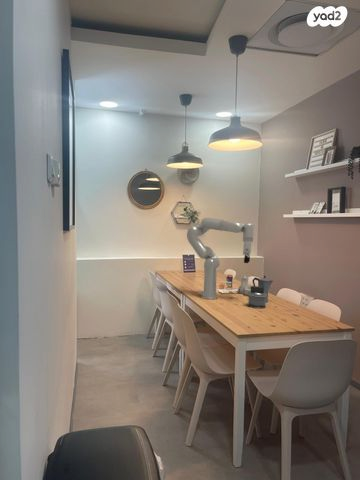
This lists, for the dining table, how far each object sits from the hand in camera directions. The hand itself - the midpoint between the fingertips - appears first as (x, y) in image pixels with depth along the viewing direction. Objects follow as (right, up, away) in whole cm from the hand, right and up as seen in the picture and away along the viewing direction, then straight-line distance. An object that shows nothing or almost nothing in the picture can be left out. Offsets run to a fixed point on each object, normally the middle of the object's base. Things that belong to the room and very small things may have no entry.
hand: (246, 262), depth 260 cm
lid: (+5, -22, -12) cm, 26 cm away
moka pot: (+13, -31, +6) cm, 34 cm away
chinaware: (+7, -29, +35) cm, 46 cm away
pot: (+5, -31, -11) cm, 33 cm away
